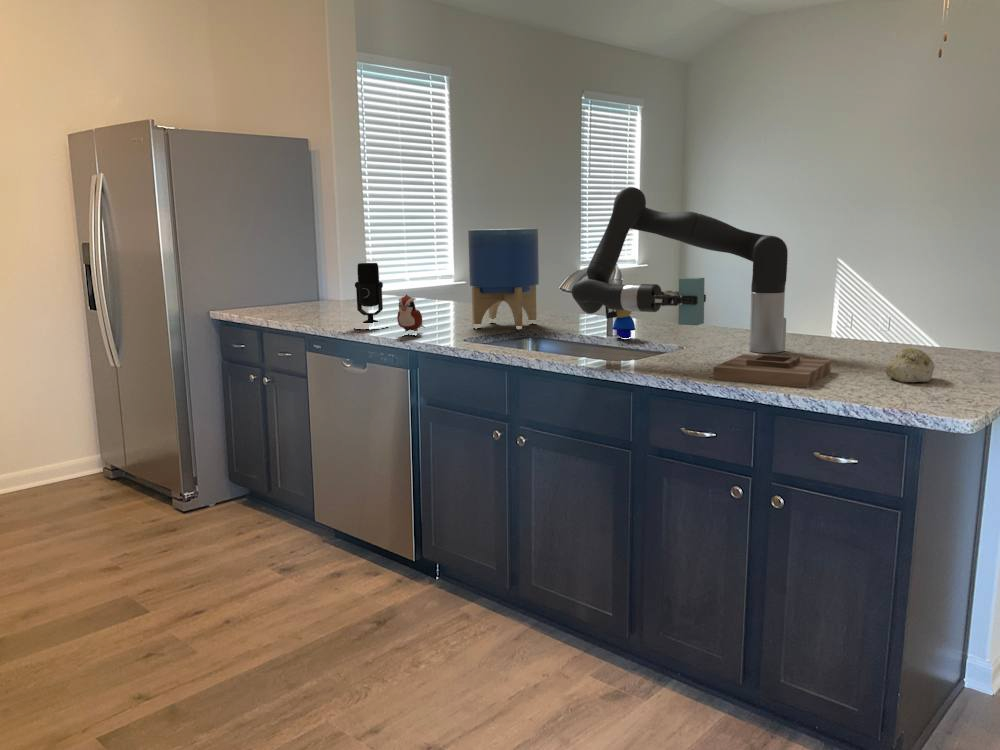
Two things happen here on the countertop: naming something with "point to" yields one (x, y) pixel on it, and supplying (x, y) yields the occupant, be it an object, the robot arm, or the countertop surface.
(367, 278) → the microphone
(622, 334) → the toy
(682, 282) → the pillar
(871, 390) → the countertop surface
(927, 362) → the decorative item
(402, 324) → the toy
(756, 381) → the plinth
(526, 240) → the planter
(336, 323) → the countertop surface
